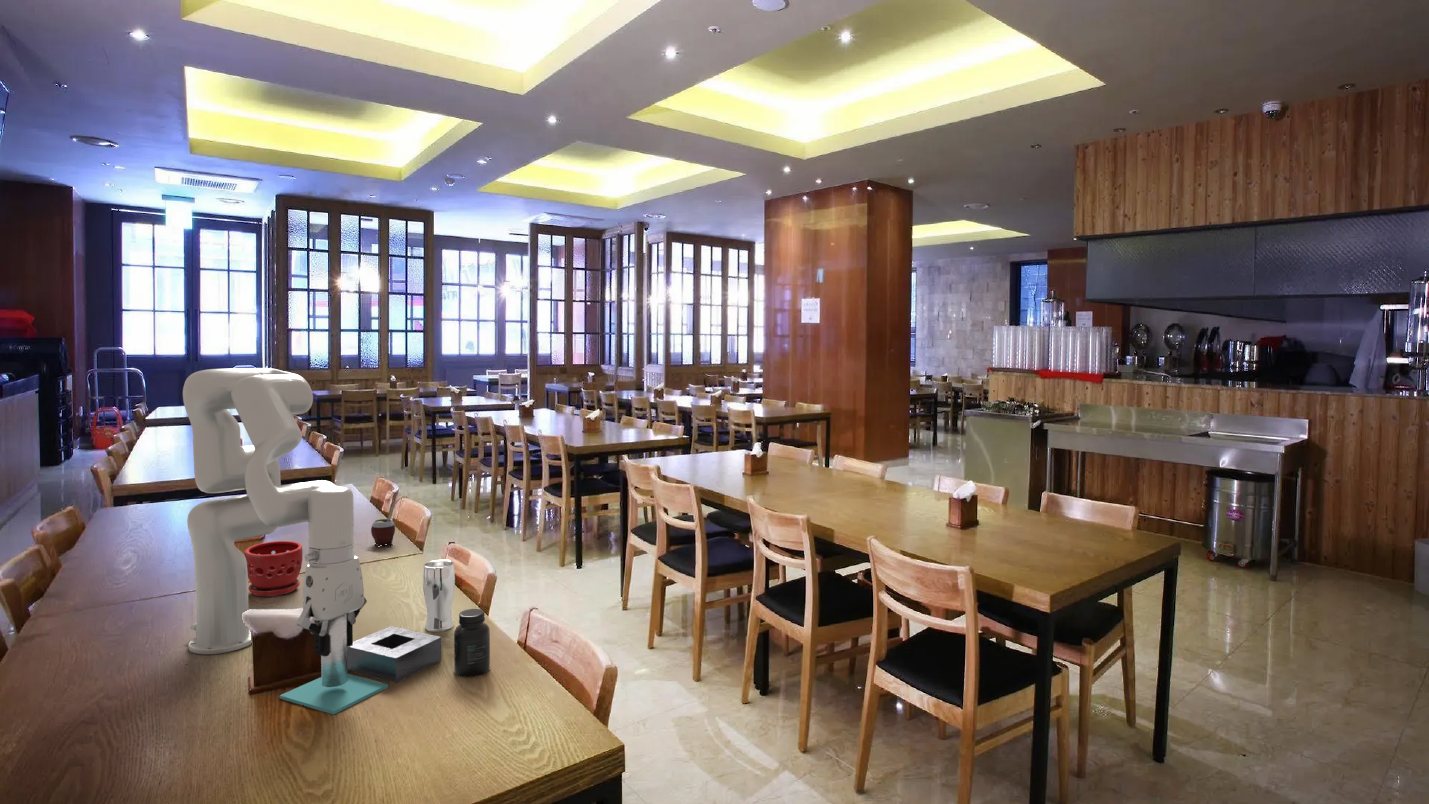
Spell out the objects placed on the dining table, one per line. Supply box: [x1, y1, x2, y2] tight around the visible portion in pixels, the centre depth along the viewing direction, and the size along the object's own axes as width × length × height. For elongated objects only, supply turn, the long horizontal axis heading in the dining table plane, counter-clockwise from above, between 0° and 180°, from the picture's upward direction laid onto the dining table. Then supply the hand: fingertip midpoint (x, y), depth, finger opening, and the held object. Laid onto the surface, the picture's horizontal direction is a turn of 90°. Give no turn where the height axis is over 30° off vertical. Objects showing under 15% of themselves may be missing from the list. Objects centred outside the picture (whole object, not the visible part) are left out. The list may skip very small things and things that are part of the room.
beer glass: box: [422, 559, 456, 633], centre depth 177 cm, size 7×7×15 cm
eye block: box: [347, 625, 443, 684], centre depth 157 cm, size 14×12×5 cm
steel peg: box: [319, 614, 349, 687], centre depth 143 cm, size 4×4×13 cm
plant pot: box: [244, 540, 304, 597], centre depth 200 cm, size 13×13×12 cm
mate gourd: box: [370, 497, 402, 546], centre depth 248 cm, size 8×8×15 cm
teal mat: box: [279, 673, 389, 715], centre depth 144 cm, size 14×12×1 cm
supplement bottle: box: [453, 608, 491, 678], centre depth 154 cm, size 7×7×12 cm
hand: (333, 648), depth 143 cm, fingers closed on steel peg, 4 cm apart
